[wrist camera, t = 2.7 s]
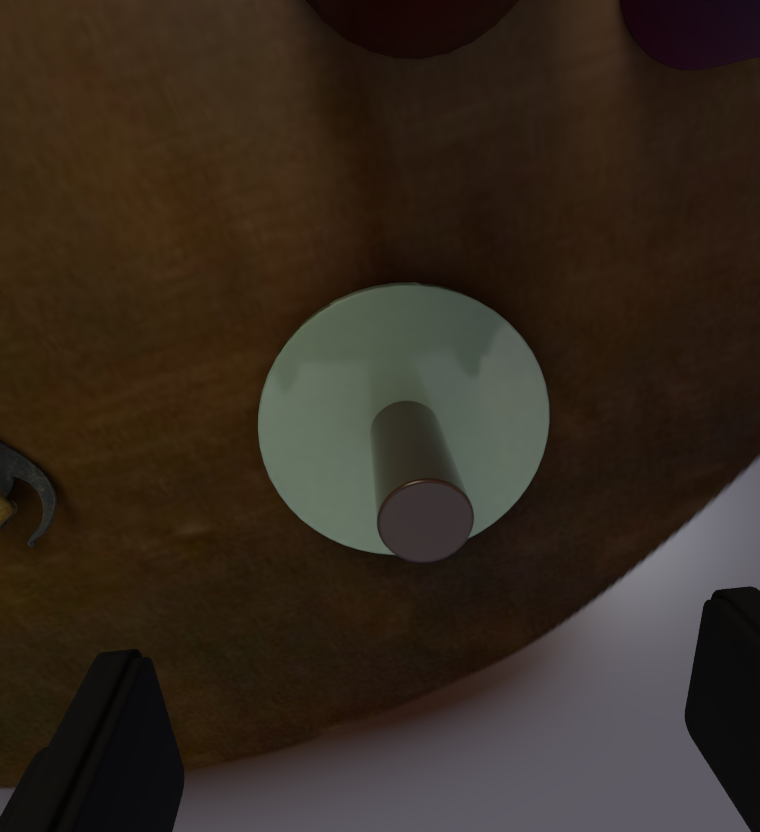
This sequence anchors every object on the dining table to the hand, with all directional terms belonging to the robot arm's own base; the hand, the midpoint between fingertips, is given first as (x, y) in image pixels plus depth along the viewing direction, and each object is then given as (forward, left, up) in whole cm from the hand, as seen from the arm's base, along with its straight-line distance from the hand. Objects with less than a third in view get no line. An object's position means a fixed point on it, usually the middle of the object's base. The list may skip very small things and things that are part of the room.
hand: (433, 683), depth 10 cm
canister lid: (0, 0, -11) cm, 11 cm away
